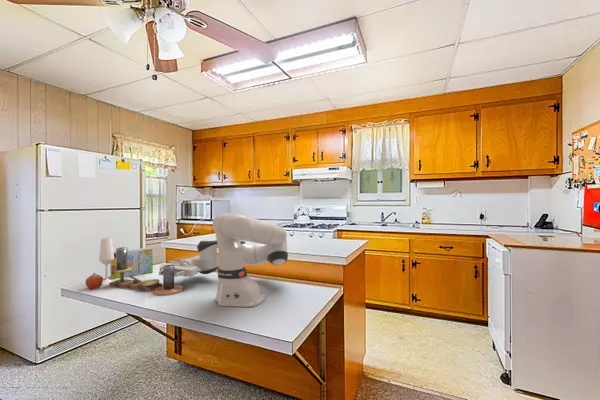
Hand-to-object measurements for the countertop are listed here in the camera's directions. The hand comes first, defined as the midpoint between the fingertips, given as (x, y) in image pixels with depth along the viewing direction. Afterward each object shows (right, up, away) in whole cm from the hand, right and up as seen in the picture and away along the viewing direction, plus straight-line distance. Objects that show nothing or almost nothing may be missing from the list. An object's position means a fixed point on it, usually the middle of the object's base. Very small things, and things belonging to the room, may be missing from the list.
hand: (167, 274), depth 140 cm
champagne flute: (-40, -8, +14) cm, 43 cm away
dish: (0, -8, +1) cm, 8 cm away
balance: (-20, -8, +7) cm, 23 cm away
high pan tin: (-28, 0, +10) cm, 30 cm away
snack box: (-35, -8, +29) cm, 46 cm away
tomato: (-39, -9, +5) cm, 41 cm away
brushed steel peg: (0, -7, +1) cm, 7 cm away
